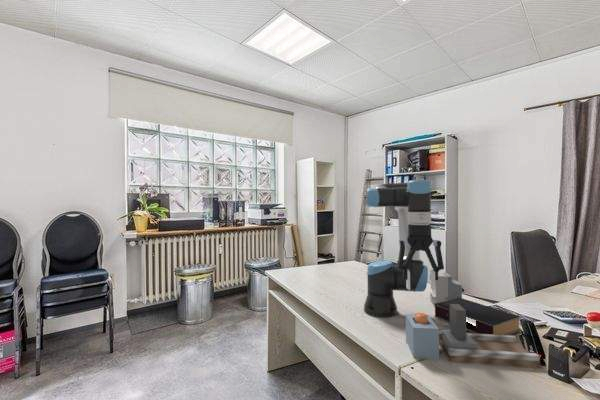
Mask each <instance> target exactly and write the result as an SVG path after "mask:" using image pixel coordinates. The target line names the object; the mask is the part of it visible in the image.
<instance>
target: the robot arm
mask: <svg viewBox="0 0 600 400" xmlns="http://www.w3.org/2000/svg"><path fill="white" fill-rule="evenodd" d="M365 192H366V193H365V194H366V195H365V196H366V206H367V207H370V208H384V207H385V208H389V207H390V208H391V207H393V208H394V210H395V211H396V212H397V218H398V220H397V221H398V238H399V239H398V240H399V241H398V243H399V253H398V258H397V261H396V264H393V263H394V262H393V261H391V260H377V261H372V262H370V263H368V265H367V268H366V269H367V272H366V275H367V295H366V298H365V301H364V305H363V310H364V312H365V313H366V314H368V316H369V315H370V316H373V317H375V318H376V317H379V318H391V317H394V316H396V315H398V306H397V304H396V301H395V297H394V291H402V292H414V293H415V292H419V293H421V292H424V291H425V290H427V289H426V288H427V286H428V278H429V276H428V275H429V270H430V272H431V281H430V289H431V291H432V290H433V291H435V280H438V273H440V271H441V270H442V271H443V270H444V268H445V266H444V260H443V254H442V251H441V250H442V249H441V247H442V241H440V240H438V239H437V240H435V239H433V238H432V225H431V223H432V211H431V210H432V209H431V208H432V203H431V201H432V198H431V195H432V194H431V192H432V189H431V182H430V180H428V179H414V180H409V181H407V182H393V183H392V182H391V183H387V182H386V183H383V184H382V183H381V184H379V185H375V186H374V187H372V188H371V187H370V188H367V189H366V191H365ZM431 246H434V251H435V257H436V261H435V259H434V256H433V254H432V251H431V249H430V247H431ZM420 251H421V252H422V251H423V252H424V253H425V254H426V256H427V259H428V261H429V264H430V266H431V268H432V269H428V266H427V265H425V264H424V261H423V260H422V259H421V258H420ZM436 262H437V263H436Z"/></svg>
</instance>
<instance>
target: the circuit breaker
mask: <svg viewBox="0 0 600 400" xmlns="http://www.w3.org/2000/svg"><path fill="white" fill-rule="evenodd" d="M429 281H430V282H431V271H430V274H429ZM463 292H465V289H464V288H463V286H462V283H460V282H459V281H458V280H453V279H452V275H450V274H449V273H448V272H438V280H435V291H433V290H432V289H431V291H430V293H429V297H430V303H431V304H432V305H433V307H435V304H436V303H440V302H444V301H448V300H452V299H456V298H463Z"/></svg>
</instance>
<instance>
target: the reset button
mask: <svg viewBox="0 0 600 400" xmlns="http://www.w3.org/2000/svg"><path fill="white" fill-rule="evenodd" d="M414 314H415V323H418V324H427V315H428V314H427V313H426V314H425V313H424V312H416V313H414Z"/></svg>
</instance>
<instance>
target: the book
mask: <svg viewBox="0 0 600 400" xmlns="http://www.w3.org/2000/svg"><path fill="white" fill-rule="evenodd" d="M450 304H459V305H460V306H461V307H462V308H464V309H465V310H466V317H468V318H471V319H474V320H476V326H473V325H472V324H470V323H468V322H466V331H469V332H470V333H474V334H493V335H513V334H515V333H517V332H520V331H521V330H520V318H521V317H520V315H517V314H514V313H511V312H507V311H504V310H501V309H498V308H494V307H491V306H488V305H485V304H481V303H479V302H474V301H472V300H468V299H466V298H463V297H462V298H456V299H452V300H448V301H444V302H440V303H436V304H435V306H434V317H435V318H437V319H438V320H439V319H440V320H441V321H444V322H446V323H448V324H450Z"/></svg>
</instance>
